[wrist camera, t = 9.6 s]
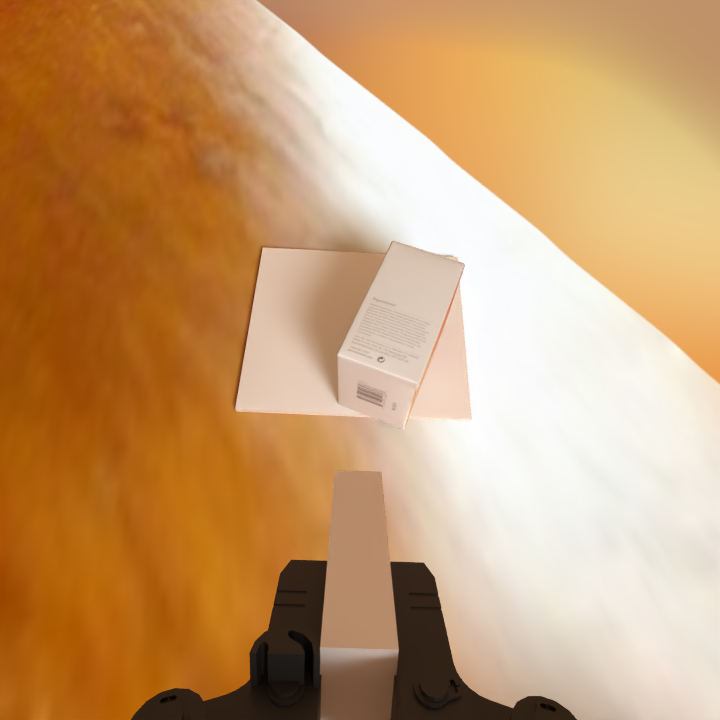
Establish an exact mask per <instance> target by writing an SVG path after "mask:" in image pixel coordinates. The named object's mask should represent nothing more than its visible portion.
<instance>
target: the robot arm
mask: <svg viewBox="0 0 720 720" xmlns="http://www.w3.org/2000/svg"><path fill="white" fill-rule="evenodd" d="M131 720H577V719H576V718H575V717H574V716H573V715H572V714H571V712H570V711H569V710H567V709H566V708H564V707H563V706H562V705H560V704H559V703H557V702H556V701H553V700H550V699H547V698H545V697H542V696H528V697H526V698H524V699H522V700H520V701H518V702H517V703H516V705H515V707H514V708H510V707H507V706H505V705H502V704H499V703H496V702H493V701H490V700H488V699H486V698H484V697H482V696H479V695H478V694H477V693H475V692H474V691H472V690H471V689H470V688H469V687H468V686H467V685H466V684H465V683H464V682H463V681H462V679H461V678H460V676H459V675H458V673H457V672H456V669H455V666H454V663H453V659H452V655H451V650H450V645H449V641H448V636H447V632H446V627H445V623H444V618H443V614H442V611H441V604H440V600H439V597H438V591H437V586H436V582H435V577H434V576H433V575H432V573H431V572H430V571H429V569H428V568H427V567H426V565H425V564H424V563H415V562H390V556H389V546H388V536H387V526H386V516H385V505H384V495H383V485H382V475H381V472H369V471H341V470H335V478H334V489H333V501H332V513H331V525H330V537H329V548H328V560H327V561H313V560H291V561H290V562H289V563H288V565H287V566H286V567H285V568H284V570H283V571H282V572H281V573H280V577H279V582H278V587H277V593H276V596H275V601H274V607H273V610H272V615H271V619H270V624H269V628H268V631H266V632H264V633H263V634H262V635H261V636H260V637H259V638H258V639H257V640H256V641H255V643H254V645H253V647H252V649H251V651H250V680H249V681H248V682H247V683H246V684H245V685H243V686H242V687H240V688H239V689H237V690H236V691H233V692H231V693H229V694H226V695H223V696H220V697H217V698H213V699H210V700H206V701H203V700H202V698H201V697H200V695H199V694H197V693H195V692H193V691H191V690H190V689H180V688H174V689H171V690H167V691H164V692H161V693H159V694H157V695H156V696H154V697H153V698H151V699H149V700H148V701H146V702H145V704H144V705H143V706H142V707H141V708H140V709H139V710H138V711H137V712H136V713H135V715H134V716H133V717H132V719H131Z"/></svg>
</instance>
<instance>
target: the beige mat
mask: <svg viewBox="0 0 720 720" xmlns="http://www.w3.org/2000/svg"><path fill="white" fill-rule="evenodd" d="M385 255H386V254H385V253H365V252H344V251H324V250H304V249H283V248H263V249H262V255H261V261H260V267H259V272H258V278H257V284H256V290H255V296H254V302H253V308H252V313H251V319H250V325H249V331H248V337H247V343H246V349H245V354H244V360H243V366H242V372H241V378H240V384H239V390H238V395H237V401H236V407H235V409H236V411H240V412H264V413H287V414H310V415H334V416H357V417H370V416H367V415H364V414H362V413H359V412H356V411H354V410H351V409H349V408H346V407H343V406H341V405H339V404H338V371H337V353H338V351H339V349H340V346H341V344H342V342H343V340H344V338H345V336H346V334H347V332H348V330H349V328H350V326H351V324H352V321H353V319H354V317H355V315H356V313H357V311H358V309H359V307H360V305H361V303H362V301H363V299H364V297H365V295H366V293H367V291H368V289H369V287H370V285H371V283H372V281H373V279H374V277H375V275H376V273H377V271H378V269H379V267H380V265H381V263H382V261H383V259H384V257H385ZM443 257H446V256H443ZM446 258H449V259H452V260H455V261H458V259H457V257H446ZM408 419H427V420H450V421H471V419H472V418H471V407H470V395H469V384H468V373H467V361H466V350H465V338H464V327H463V316H462V304H461V293H460V282H459V284H458V287H457V290H456V293H455V297H454V300H453V303H452V306H451V309H450V312H449V314H448V317H447V320H446V323H445V326H444V328H443V331H442V333H441V336H440V339H439V341H438V344H437V346H436V349H435V351H434V354H433V356H432V359H431V361H430V364H429V367H428V369H427V372H426V374H425V377H424V379H423V382H422V384H421V387H420V389H419V392H418V395H417V397H416V400H415V402H414V405H413V407H412V410H411V413H410V415H409V418H408Z"/></svg>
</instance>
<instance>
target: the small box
mask: <svg viewBox="0 0 720 720" xmlns="http://www.w3.org/2000/svg"><path fill="white" fill-rule="evenodd" d="M464 267H465V264H464V263H461V262H458V261H455V260H452V259H449V258H446V257H443V256H440V255H436V254H433V253H430V252H427V251H424V250H421V249H418V248H415V247H411V246H408V245H405V244H402V243H399V242H395V241H392V242H391V244H390V247H389V249H388V251H387V253H386V255H385V257H384V259H383V261H382V263H381V265H380V267H379V269H378V271H377V273H376V275H375V277H374V279H373V281H372V283H371V285H370V287H369V289H368V291H367V293H366V295H365V297H364V299H363V301H362V303H361V305H360V307H359V309H358V311H357V313H356V315H355V317H354V319H353V321H352V324H351V326H350V328H349V330H348V332H347V334H346V336H345V338H344V340H343V342H342V344H341V346H340V349H339V351H338V353H337V371H338V404H339V405H341V406H343V407H346V408H349V409H351V410H354V411H356V412H359V413H362V414H364V415H367V416H370V417H372V418H375V419H377V420H380V421H382V422H385V423H387V424H390V425H392V426H395V427H397V428H400V429H404V428H405V426H406V424H407V421H408V418H409V415H410V413H411V410H412V407H413V405H414V402H415V400H416V397H417V395H418V392H419V389H420V387H421V384H422V382H423V379H424V377H425V374H426V372H427V369H428V367H429V364H430V361H431V359H432V356H433V354H434V351H435V349H436V346H437V344H438V341H439V339H440V336H441V333H442V331H443V328H444V326H445V323H446V320H447V317H448V314H449V312H450V309H451V306H452V303H453V300H454V297H455V293H456V290H457V287H458V284H459V281H460V278H461V275H462V272H463V269H464Z"/></svg>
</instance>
